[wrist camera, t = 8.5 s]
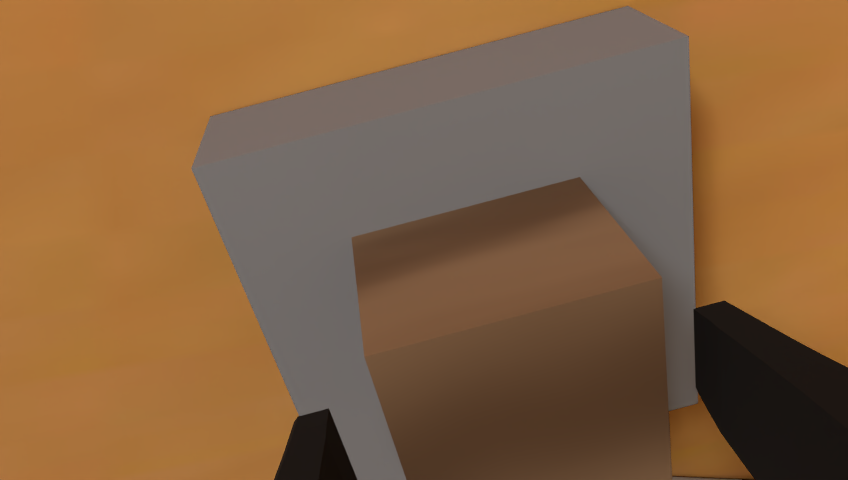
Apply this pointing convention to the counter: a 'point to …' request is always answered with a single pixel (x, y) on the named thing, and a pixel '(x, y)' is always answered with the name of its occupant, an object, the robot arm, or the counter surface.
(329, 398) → the slate base block
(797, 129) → the counter surface
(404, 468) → the walnut block
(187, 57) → the counter surface
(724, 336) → the robot arm
